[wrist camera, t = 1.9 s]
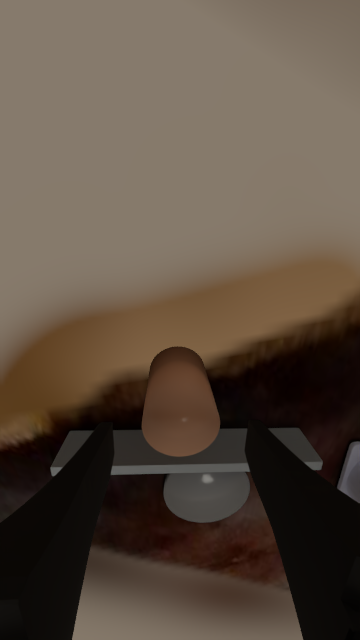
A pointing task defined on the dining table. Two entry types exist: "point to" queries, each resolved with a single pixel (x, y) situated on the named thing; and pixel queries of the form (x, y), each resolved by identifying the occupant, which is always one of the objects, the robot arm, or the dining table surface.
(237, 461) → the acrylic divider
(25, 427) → the dining table surface
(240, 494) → the slate coaster
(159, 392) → the terracotta cylinder
